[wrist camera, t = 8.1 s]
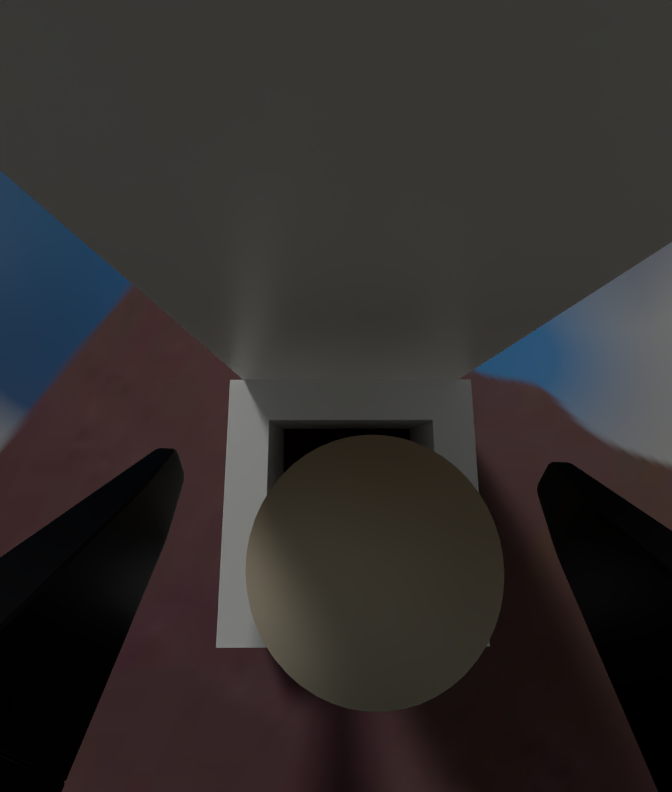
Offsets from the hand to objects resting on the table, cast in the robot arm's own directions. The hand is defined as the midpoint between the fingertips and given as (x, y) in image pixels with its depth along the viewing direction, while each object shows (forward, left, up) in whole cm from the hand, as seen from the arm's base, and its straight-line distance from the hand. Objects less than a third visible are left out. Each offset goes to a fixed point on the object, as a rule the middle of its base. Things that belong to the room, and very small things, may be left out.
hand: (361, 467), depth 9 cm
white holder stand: (-1, 0, -8) cm, 8 cm away
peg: (-1, 0, -8) cm, 8 cm away
